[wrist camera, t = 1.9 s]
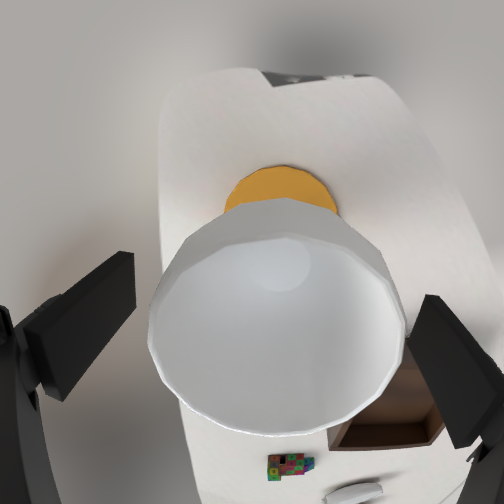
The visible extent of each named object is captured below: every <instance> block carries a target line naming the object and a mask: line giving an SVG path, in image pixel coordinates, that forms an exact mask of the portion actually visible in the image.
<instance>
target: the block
mask: <svg viewBox="0 0 504 504" xmlns="http://www.w3.org/2000/svg"><path fill="white" fill-rule="evenodd" d="M312 469H314V458H304V454H290V455H286V464H281V465H280V455H269V456H268V469H267V474H268V481H281V476H288V475H304V473H305V472H307V471H309V470H312Z"/></svg>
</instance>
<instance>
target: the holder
mask: <svg viewBox="0 0 504 504" xmlns="http://www.w3.org/2000/svg"><path fill="white" fill-rule="evenodd" d="M408 339H409V338H405V343H404V351H403V358H402V362H401V364H400V366H399V367H398V369H397V371H396V372H395V374H394V376H393V377H392V379H391V380H390V382H389V383H388V385H387V387H386V388H385V390H384V391H383V393H382V394H381V396H379V397H378V398H377V399H376V400H374V401H373V402H372V403H371V404H369V405H368V406H367V407H365V408H364V409H363V410H361V411H360V412H359V413H357V414H356V415H355V416H353V417H352V418H350V419H349V420H348V421H345V422H343V423H340V424H337V425H335V426H332V427H329V428H327V437H328V448H329V451H371V450H389V449H402V448H412V447H421V446H429V445H431V444H432V443H433V442H434V441H435V439H436V438H437V437H438V436H439V434H440V433H441V432H442V430H443V429H444V428H445V424H444V422H443V419H442V417H441V415H440V412H439V410H438V408H437V406H436V404H435V401H434V399H433V397H432V395H431V393H430V391H429V388H428V386H427V384H426V382H425V380H424V378H423V376H422V374H421V372H420V370H419V368H418V366H417V364H416V362H415V360H414V358H413V356H412V354H411V352H410V350H409V348H408V346H407V342H408Z"/></svg>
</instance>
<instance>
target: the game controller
mask: <svg viewBox="0 0 504 504" xmlns="http://www.w3.org/2000/svg"><path fill="white" fill-rule="evenodd" d="M382 493H383V489H382V486H381V485H379V484H376V483H361V484H355V485H351V486H348V487H344V488H341V489H339V490H336V491H334V492H332V493H331V494H329V495H327V496H326V498H325V499H323V500H322V501H321V503H322V504H358V503H361V502H364V501H367V500H369V499H371V498H373V497H376V496H378V495H380V494H382Z"/></svg>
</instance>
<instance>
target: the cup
mask: <svg viewBox="0 0 504 504" xmlns="http://www.w3.org/2000/svg"><path fill="white" fill-rule="evenodd" d="M406 325H407V319H406V316H405V313H404V310H403V307H402V304H401V301H400V298H399V295H398V292H397V289H396V287H395V284H394V282H393V280H392V277H391V275H390V273H389V270H388V268H387V266H386V263H385V261H384V259H383V257H382V254H381V252H380V250H378V249H377V248H376V247H375V246H374V245H373V244H371V243H370V242H369V241H368V240H367V239H365V238H364V237H363V236H362V235H361V234H360V233H358V232H357V231H356V230H355V229H354V228H352V227H351V226H350V225H349V224H347V223H346V222H345V221H344V220H343V219H341V218H340V217H339V216H338V215H337V206H336V204H335V202H334V201H333V199H332V197H331V195H330V193H329V192H328V190H327V188H326V186H325V185H323V184H322V183H321V182H320V181H318V180H317V179H316V178H314V177H313V176H312V175H310V174H309V173H308V172H306V171H302V170H299V169H295V168H291V167H287V166H278V167H271V168H264V169H259V170H258V171H256V172H254V173H253V174H251V175H250V176H248V177H246V178H245V179H243V180H241V181H240V182H239V184H238V185H237V186H236V188H235V189H234V191H233V192H232V193H231V195H230V196H229V198H228V199H227V202H226V206H225V211H224V214H222V215H221V216H219V217H218V218H216V219H214V220H213V221H211V222H209V223H208V224H206V225H205V226H203V227H202V228H200V229H199V230H197V231H196V232H195V233H193V234H192V235H191V236H189V237H188V238H186V240H185V241H184V243H183V244H182V246H181V247H180V249H179V250H178V252H177V254H176V255H175V257H174V258H173V260H172V261H171V263H170V265H169V266H168V268H167V269H166V271H165V272H164V274H163V276H162V277H161V280H160V282H159V284H158V287H157V289H156V291H155V294H154V296H153V298H152V301H151V303H150V309H149V323H148V342H147V343H148V344H147V345H148V348H149V350H150V353H151V356H152V358H153V360H154V363H155V365H156V368H157V370H158V372H159V375H160V377H161V379H162V381H163V383H164V384H165V385H166V386H167V387H168V388H169V389H170V390H171V391H172V392H173V393H174V394H175V395H176V396H177V397H178V398H179V399H180V400H181V401H182V402H183V403H184V404H185V405H186V406H187V407H188V408H189V409H190V410H191V411H193V412H195V413H197V414H198V415H200V416H202V417H204V418H206V419H208V420H210V421H212V422H214V423H216V424H218V425H220V426H222V427H224V428H226V429H229V430H233V431H238V432H242V433H247V434H252V435H258V436H263V437H283V436H297V435H309V434H312V433H315V432H318V431H321V430H324V429H326V428H329V427H332V426H335V425H337V424H340V423H343V422H345V421H348V420H349V419H350V418H352V417H353V416H355V415H356V414H357V413H359V412H360V411H361V410H363V409H364V408H365V407H367V406H368V405H369V404H371V403H372V402H373V401H374V400H376V399H377V398H378V397H379V396H381V394H382V393H383V391H384V390H385V388H386V387H387V385H388V383H389V382H390V380H391V379H392V377H393V376H394V374H395V372H396V371H397V369H398V367H399V366H400V364H401V362H402V358H403V351H404V343H405V334H406Z"/></svg>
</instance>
